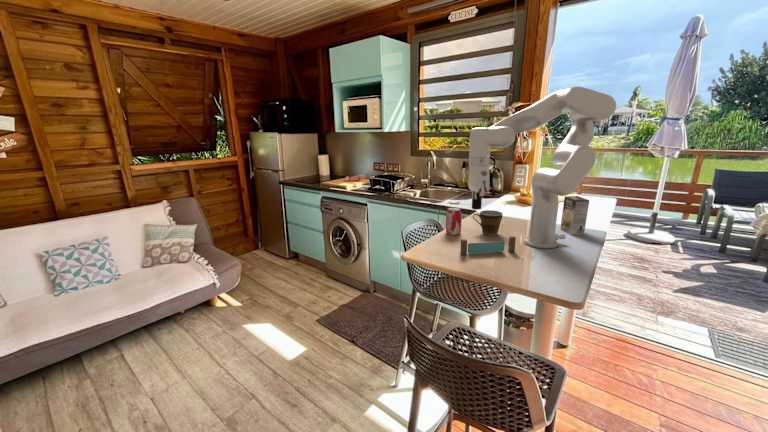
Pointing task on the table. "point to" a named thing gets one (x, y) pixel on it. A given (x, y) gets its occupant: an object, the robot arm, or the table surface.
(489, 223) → the ceramic cup
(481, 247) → the bar
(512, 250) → the gate posts
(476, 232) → the table surface
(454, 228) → the soda can
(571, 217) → the coffee box
